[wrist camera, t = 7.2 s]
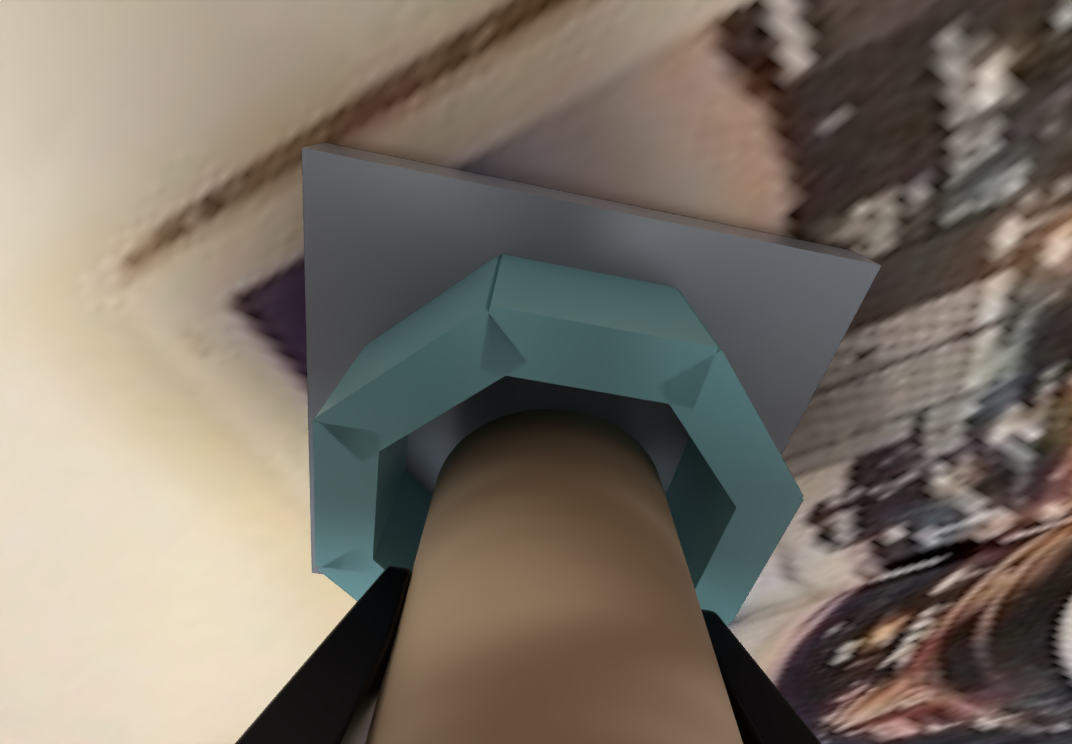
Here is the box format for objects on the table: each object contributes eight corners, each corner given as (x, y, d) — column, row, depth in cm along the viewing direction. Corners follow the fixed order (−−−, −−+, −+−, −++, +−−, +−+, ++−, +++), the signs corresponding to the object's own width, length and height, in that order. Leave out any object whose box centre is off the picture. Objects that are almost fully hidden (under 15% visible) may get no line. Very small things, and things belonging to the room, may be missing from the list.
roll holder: (850, 249, 12) (991, 319, 8) (682, 592, 17) (721, 725, 14) (324, 142, 11) (213, 166, 7) (326, 541, 16) (264, 671, 13)
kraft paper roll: (694, 431, 10) (1210, 1559, 2) (626, 594, 13) (772, 1439, 5) (447, 390, 10) (67, 1584, 2) (425, 566, 12) (210, 1440, 4)
